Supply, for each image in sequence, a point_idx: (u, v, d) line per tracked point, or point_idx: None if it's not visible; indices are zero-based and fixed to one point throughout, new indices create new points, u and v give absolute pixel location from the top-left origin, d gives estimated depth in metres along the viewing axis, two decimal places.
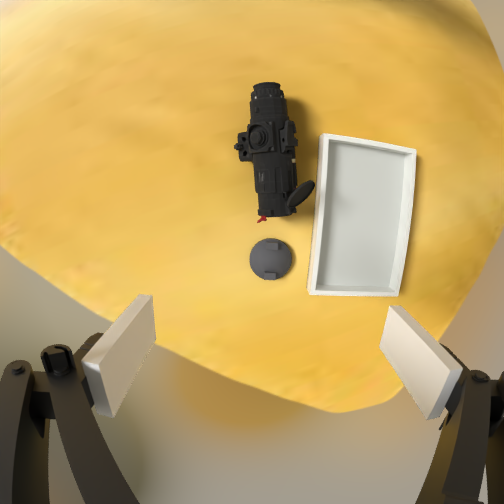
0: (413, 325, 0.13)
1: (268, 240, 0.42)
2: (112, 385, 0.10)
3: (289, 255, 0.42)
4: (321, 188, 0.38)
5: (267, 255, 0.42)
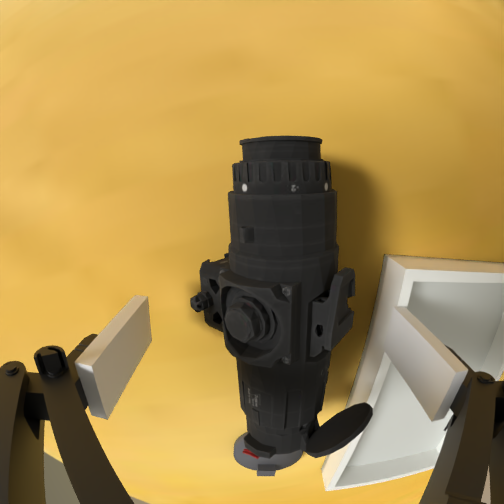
0: (418, 327, 0.12)
1: None
2: (106, 387, 0.09)
3: None
4: (376, 379, 0.16)
5: None
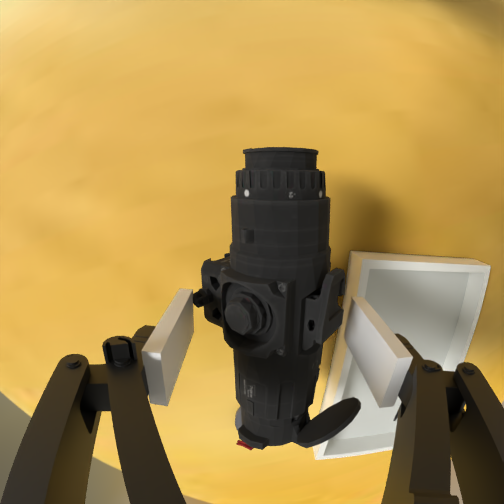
0: (370, 315, 0.14)
1: None
2: (167, 374, 0.11)
3: None
4: (347, 348, 0.22)
5: None
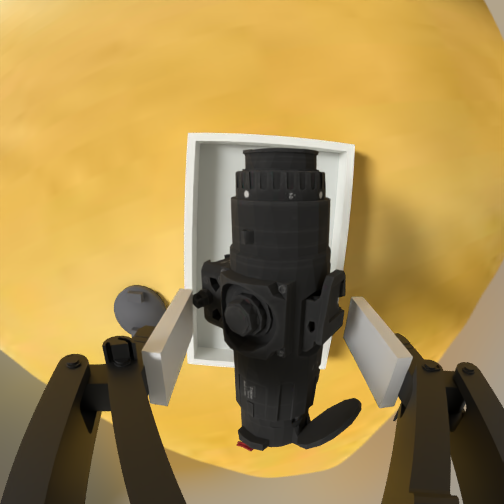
0: (370, 315, 0.14)
1: (131, 289, 0.29)
2: (167, 374, 0.11)
3: (160, 309, 0.30)
4: (185, 219, 0.25)
5: (133, 308, 0.30)
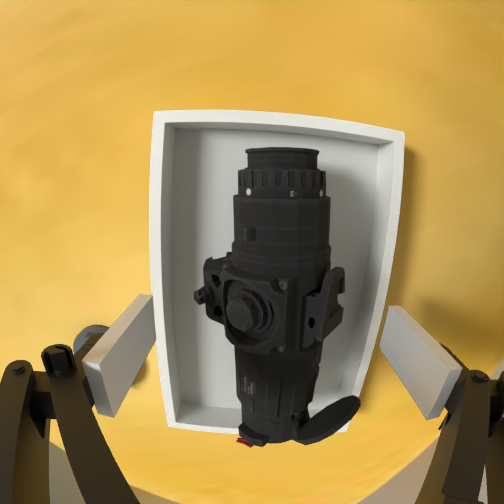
0: (413, 325, 0.13)
1: (91, 330, 0.20)
2: (113, 385, 0.10)
3: None
4: (151, 242, 0.16)
5: None
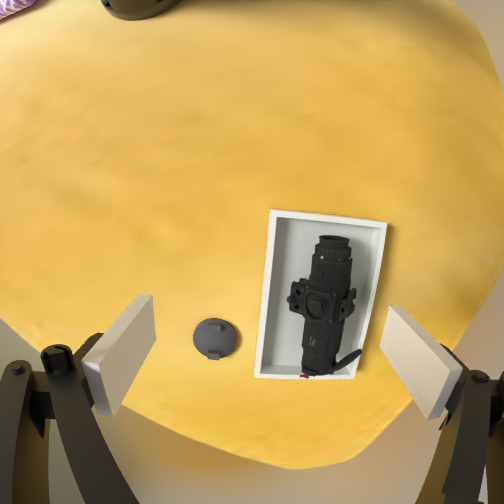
0: (413, 325, 0.13)
1: (211, 321, 0.39)
2: (112, 385, 0.10)
3: (234, 336, 0.39)
4: (266, 274, 0.35)
5: (210, 335, 0.39)
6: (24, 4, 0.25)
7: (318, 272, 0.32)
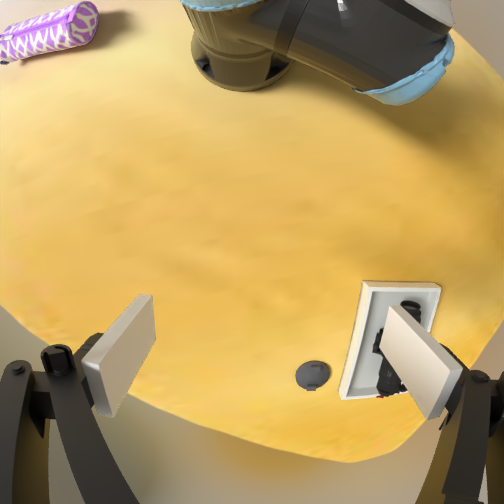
0: (413, 325, 0.13)
1: (312, 364, 0.48)
2: (112, 385, 0.10)
3: (327, 372, 0.48)
4: (360, 330, 0.44)
5: (310, 374, 0.48)
6: (82, 42, 0.32)
7: None
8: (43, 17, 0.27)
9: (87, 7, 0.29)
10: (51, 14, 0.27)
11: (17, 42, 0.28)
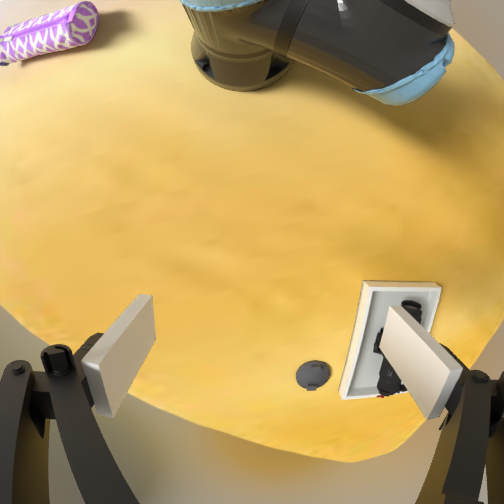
0: (413, 325, 0.13)
1: (312, 364, 0.48)
2: (112, 385, 0.10)
3: (328, 372, 0.48)
4: (360, 330, 0.44)
5: (311, 373, 0.48)
6: (82, 42, 0.32)
7: None
8: (43, 18, 0.27)
9: (87, 7, 0.29)
10: (51, 15, 0.27)
11: (16, 43, 0.28)
